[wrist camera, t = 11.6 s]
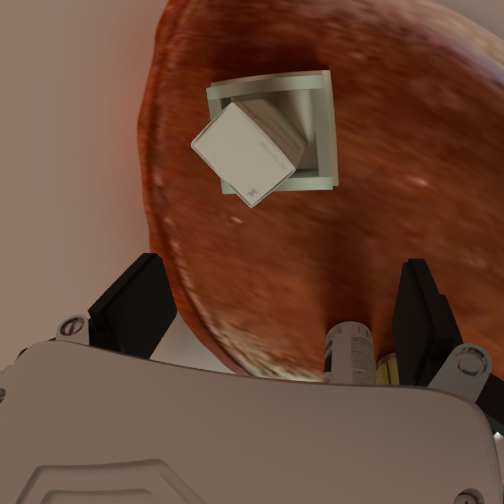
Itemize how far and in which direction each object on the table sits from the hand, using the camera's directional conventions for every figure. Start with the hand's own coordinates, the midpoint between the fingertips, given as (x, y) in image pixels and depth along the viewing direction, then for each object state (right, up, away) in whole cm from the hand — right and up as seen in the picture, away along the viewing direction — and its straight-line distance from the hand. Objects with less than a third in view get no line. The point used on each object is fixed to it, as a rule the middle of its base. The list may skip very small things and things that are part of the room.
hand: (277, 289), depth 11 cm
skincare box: (+1, +13, +18) cm, 23 cm away
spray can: (+13, -10, +30) cm, 34 cm away
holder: (+2, +14, +18) cm, 23 cm away
